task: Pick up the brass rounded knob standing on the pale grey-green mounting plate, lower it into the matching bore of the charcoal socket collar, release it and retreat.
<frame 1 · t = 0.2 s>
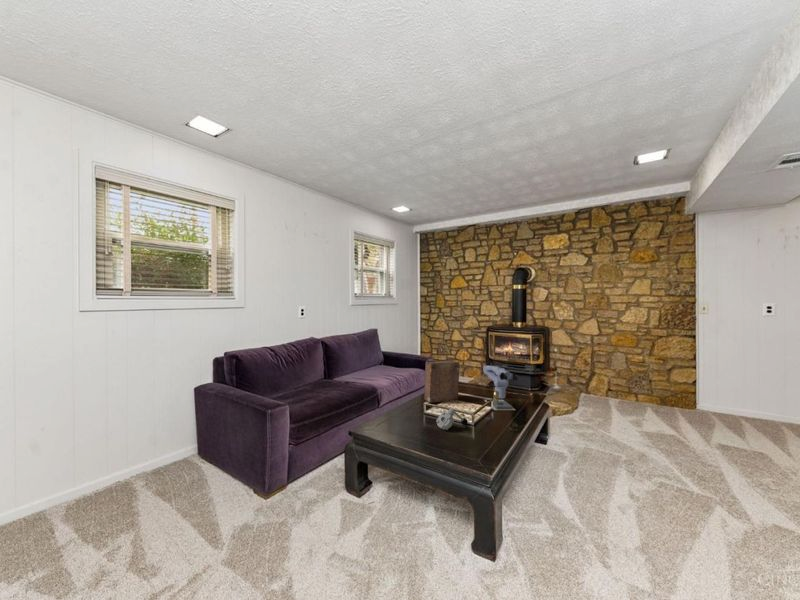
hand: (511, 378, 252), 21 cm above the table, fingers open, 7 cm apart
socket plate: (501, 407, 249), on the table
mechanical valve: (452, 426, 211), on the table
book: (441, 400, 262), on the table
brass rounded knob: (495, 401, 259), point 1 cm above the table, touching socket plate
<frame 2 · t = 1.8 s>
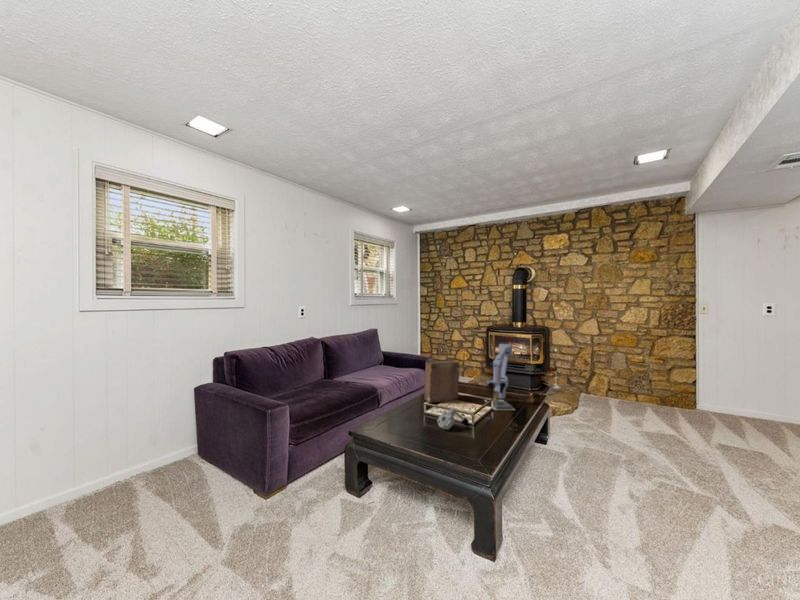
hand: (496, 392, 259), 8 cm above the table, fingers open, 7 cm apart
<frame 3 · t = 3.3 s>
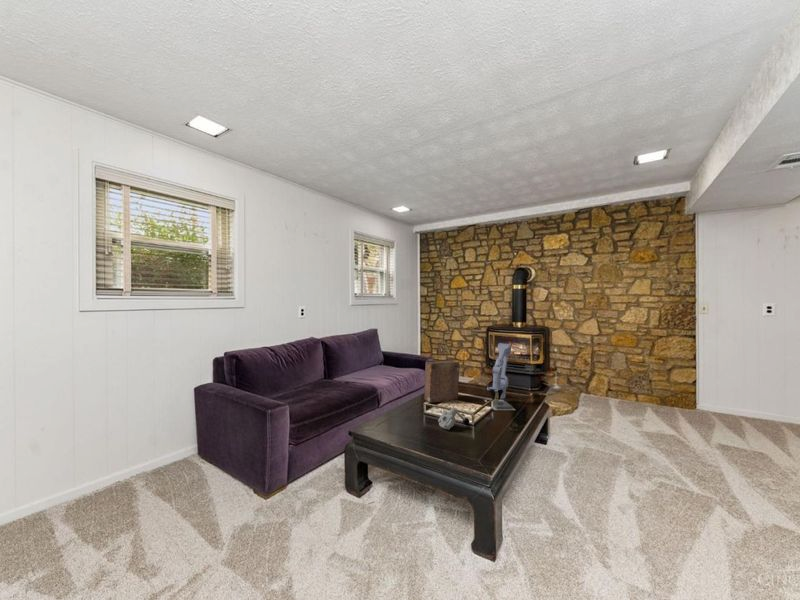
hand: (495, 399, 259), 3 cm above the table, fingers closed on brass rounded knob, 4 cm apart
brass rounded knob: (495, 401, 259), point 1 cm above the table, touching gripper, socket plate
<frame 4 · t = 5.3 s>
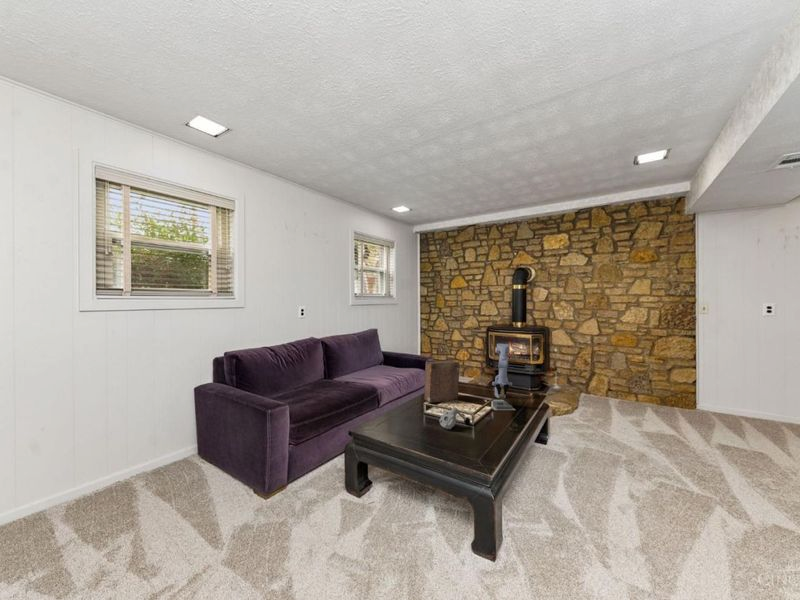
hand: (501, 394, 249), 10 cm above the table, fingers closed on brass rounded knob, 4 cm apart
brass rounded knob: (501, 397, 249), point 7 cm above the table, touching gripper
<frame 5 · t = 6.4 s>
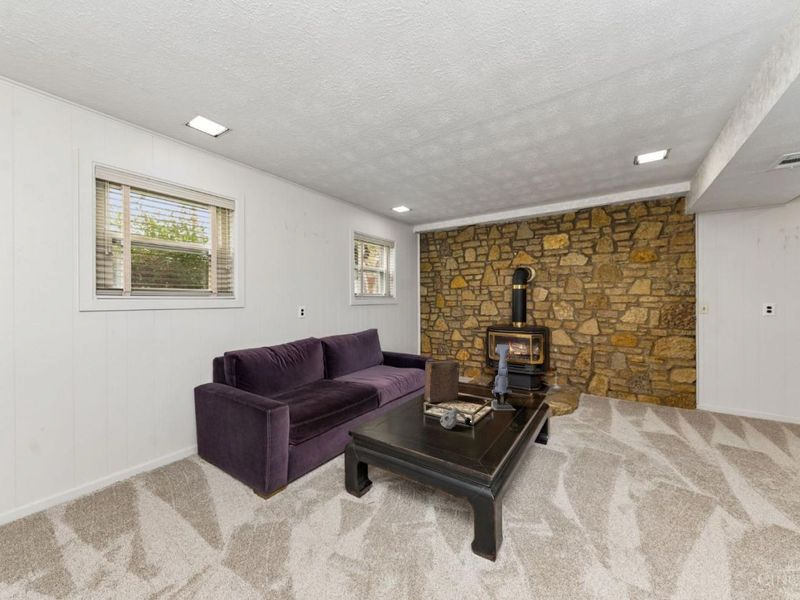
hand: (501, 402, 249), 4 cm above the table, fingers closed on brass rounded knob, 4 cm apart
brass rounded knob: (501, 405, 249), point 1 cm above the table, touching gripper
when the fingers open (4 cm above the table, at t = 7.2 s): brass rounded knob stays where it is, resting on socket plate.
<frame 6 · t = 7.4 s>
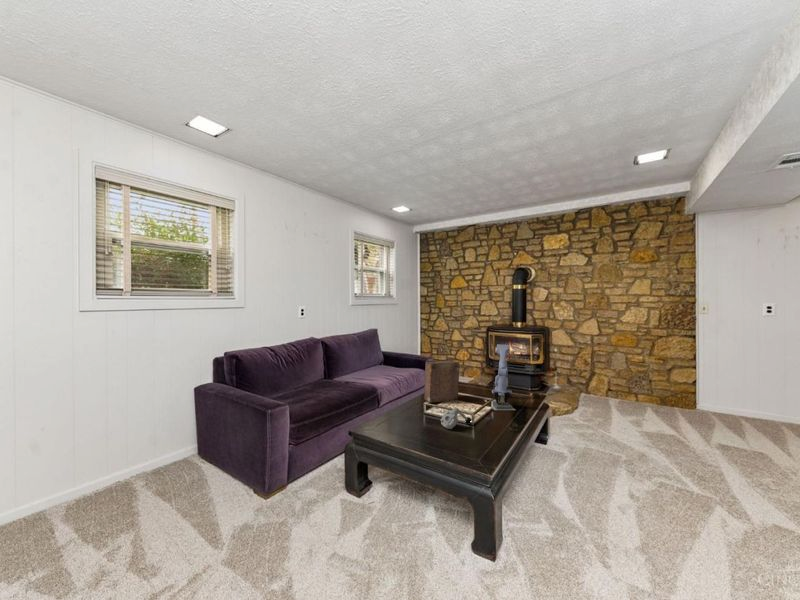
hand: (501, 402, 249), 4 cm above the table, fingers open, 6 cm apart
brass rounded knob: (501, 406, 249), point 1 cm above the table, touching socket plate
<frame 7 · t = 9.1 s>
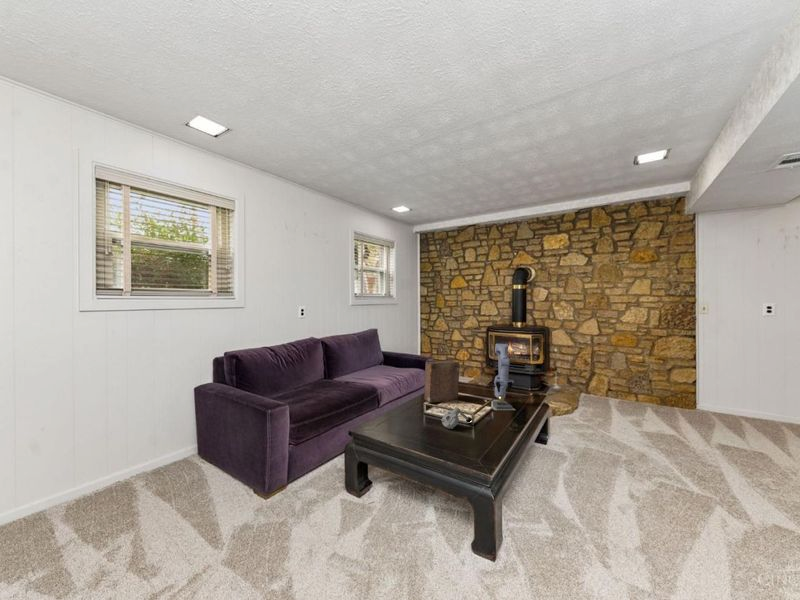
hand: (503, 392, 257), 9 cm above the table, fingers open, 7 cm apart
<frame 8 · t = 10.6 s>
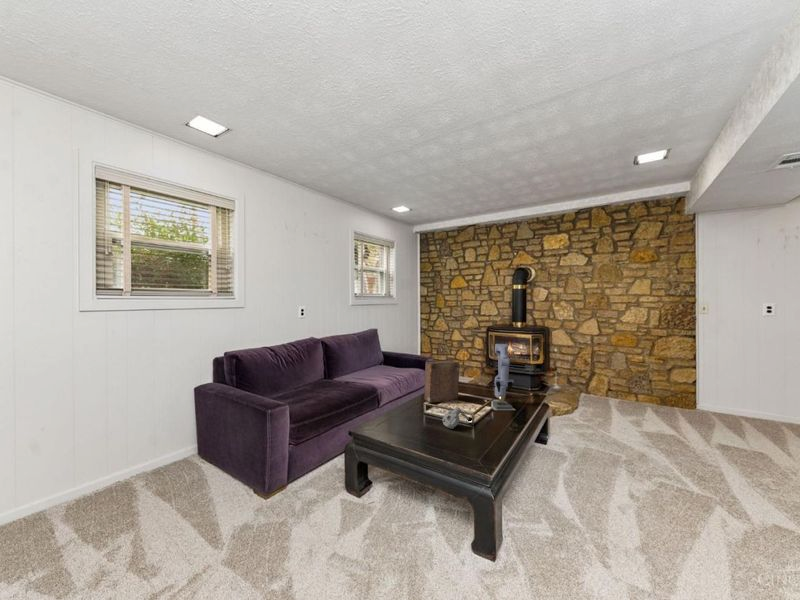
hand: (503, 391, 257), 9 cm above the table, fingers open, 7 cm apart
at the end: brass rounded knob 0.1 cm off-centre on the socket plate, point 0.8 cm above the socket plate's base; brass rounded knob tilted 1°; the gripper is holding nothing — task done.
